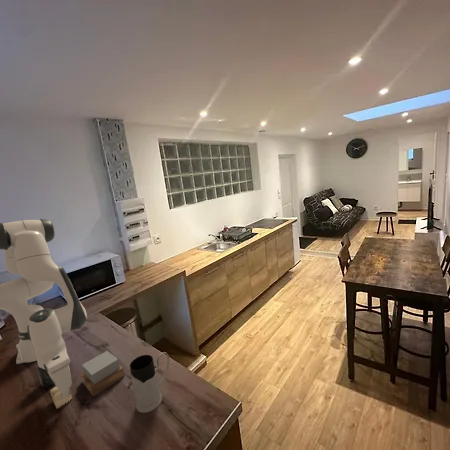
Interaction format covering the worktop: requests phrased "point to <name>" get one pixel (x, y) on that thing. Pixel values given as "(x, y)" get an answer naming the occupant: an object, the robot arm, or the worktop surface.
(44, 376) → the supplement bottle
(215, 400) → the worktop surface
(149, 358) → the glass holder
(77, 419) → the worktop surface
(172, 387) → the worktop surface
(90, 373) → the slate top slab
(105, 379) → the walnut base slab
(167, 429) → the worktop surface
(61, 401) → the birch block
